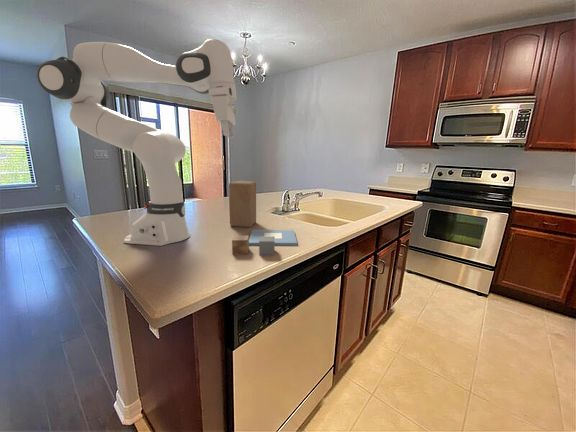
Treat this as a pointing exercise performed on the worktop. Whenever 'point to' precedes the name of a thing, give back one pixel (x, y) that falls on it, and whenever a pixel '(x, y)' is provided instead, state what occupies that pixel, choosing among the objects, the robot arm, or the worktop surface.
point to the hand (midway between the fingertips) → (228, 136)
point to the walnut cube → (240, 244)
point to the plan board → (280, 236)
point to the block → (242, 203)
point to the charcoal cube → (266, 245)
